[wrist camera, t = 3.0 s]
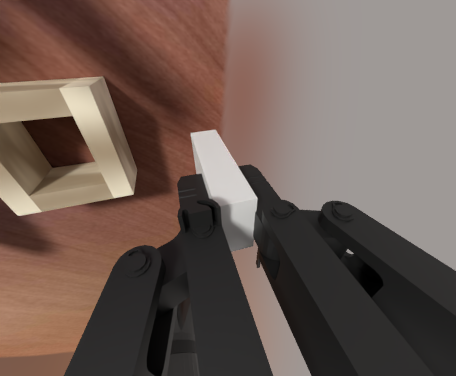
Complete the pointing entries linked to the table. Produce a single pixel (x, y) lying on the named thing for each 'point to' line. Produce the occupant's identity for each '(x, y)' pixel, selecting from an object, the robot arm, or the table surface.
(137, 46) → the table surface
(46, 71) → the table surface
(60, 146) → the table surface
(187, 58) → the table surface
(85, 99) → the hole block
